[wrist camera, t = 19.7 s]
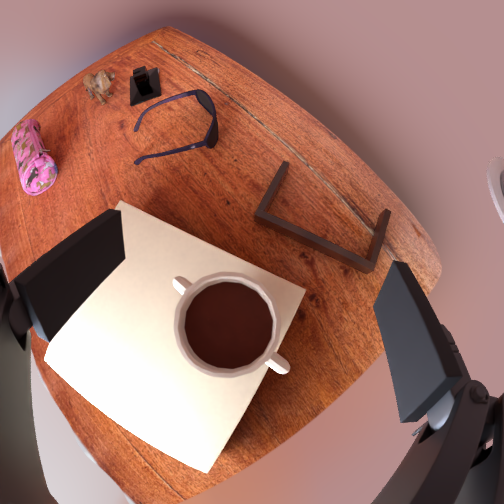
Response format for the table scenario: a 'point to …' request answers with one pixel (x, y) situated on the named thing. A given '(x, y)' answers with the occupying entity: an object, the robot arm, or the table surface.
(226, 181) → the table surface
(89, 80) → the lion figurine
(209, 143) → the sunglasses
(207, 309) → the character mug
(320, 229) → the table surface
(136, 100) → the build plate
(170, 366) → the cream square platform
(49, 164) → the pencil case
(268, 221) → the dark brown u-shaped bracket
